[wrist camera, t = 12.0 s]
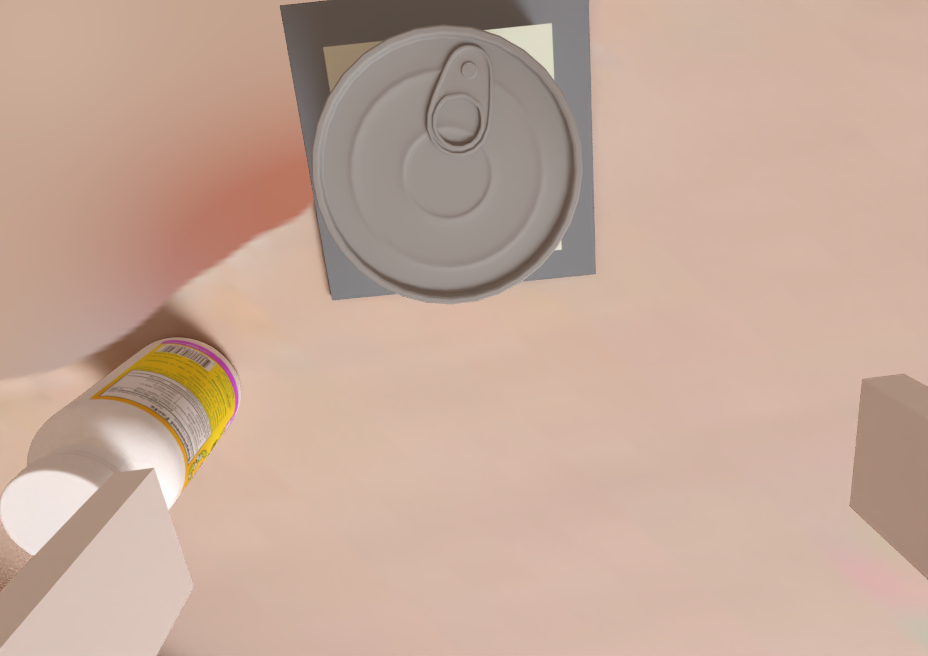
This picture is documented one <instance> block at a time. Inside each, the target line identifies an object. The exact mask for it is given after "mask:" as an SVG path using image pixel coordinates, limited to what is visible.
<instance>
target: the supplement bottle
mask: <svg viewBox="0 0 928 656" xmlns="http://www.w3.org/2000/svg"><path fill="white" fill-rule="evenodd" d="M240 400H241V387H240V382H239V379H238V376H237V374H236V372H235V370H234V368H233V367H232V365H231V364H230V363H229V361H228V360H227V359H226V358H225V357H224V356H223V355H222V354H221V353H220V352H218V351H217V350H216V349H214V348H213V347H211V346H209V345H207V344H205V343H203V342H201V341H198V340H194V339H190V338H183V337H173V338H165V339H161V340H158V341H155V342H153V343H151V344H149V345H147V346H146V347H144V348H143V349H141V350H140V351H139V352H137V353H136V354H135V355H133V356H132V357H130V358H129V359H128V360H126V361H125V362H124V363H122V364H121V365H120V366H118V367H117V368H116V369H115V370H113V371H112V372H111V373H109V374H108V375H107V376H105V377H104V378H103V379H101V380H100V381H99V382H98V383H96V384H95V385H94V386H92V387H91V388H90V389H88V390H87V391H86V392H84V393H83V394H82V395H80V396H79V397H78V398H76V399H75V400H74V401H72V402H71V403H70V404H68V405H67V406H66V407H64V408H63V409H62V410H60V411H59V412H58V413H56V414H55V415H54V416H52V417H51V418H50V419H48V420H47V421H46V422H45V423H44V424H43V425H42V427H41V428H40V429H39V430H38V432H37V433H36V435H35V437H34V439H33V440H32V443H31V446H30V449H29V452H28V458H27V467H26V468H25V469H24V470H23V471H21V472H20V473H19V474H18V475H17V476H16V477H15V478H14V479H13V480H11V481H10V482H9V484H8V485H7V486H6V487H5V489H4V491H3V493H2V495H1V498H0V518H1V521H2V524H3V526H4V528H5V530H6V532H7V533H8V534H9V536H10V537H11V538H12V539H13V541H14V542H15V543H16V544H17V545H19V546H20V547H21V548H22V549H24V550H25V551H26V552H28V553H29V554H31V555H33V556H34V555H35V554H36V553H37V552H38V551H39V550H40V549H41V548H42V547H43V546H44V545H45V544H46V543H47V542H48V541H49V540H50V539H51V538H52V537H53V535H54V534H55V533H56V532H57V531H58V530H59V529H60V528H61V527H62V526H63V525H64V524H65V523H66V522H67V521H68V520H69V519H70V518H71V517H72V516H73V515H74V514H75V512H76V511H77V510H78V509H79V508H80V507H81V506H82V505H83V504H84V503H85V502H86V501H87V500H88V499H89V498H90V497H91V496H92V495H93V494H94V493H95V492H96V491H97V490H98V488H99V487H100V486H101V485H102V484H103V483H104V482H105V481H106V480H107V479H108V478H109V477H110V476H111V475H112V474H113V473H116V472H124V471H132V470H140V469H148V468H155V471H156V474H157V477H158V481H159V484H160V487H161V490H162V493H163V496H164V499H165V502H166V505H167V508H168V510H169V509H170V508H171V507H172V505H173V504H174V503H175V501H176V500H177V499H178V497H179V496H180V494H181V493H182V491H183V490H184V488H185V487H186V486H187V484H188V483H189V481H190V480H191V479H192V477H193V476H194V474H195V473H196V472H197V470H198V469H199V467H200V466H201V464H202V463H203V462H204V460H205V459H206V457H207V456H208V455H209V453H210V452H211V450H212V449H213V448H214V446H215V445H216V443H217V442H218V441H219V439H220V438H221V436H222V435H223V434H224V432H225V431H226V429H227V428H228V427H229V425H230V424H231V422H232V420H233V419H234V417H235V415H236V413H237V411H238V409H239V405H240Z"/></svg>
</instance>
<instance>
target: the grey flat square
mask: <svg viewBox="0 0 928 656" xmlns="http://www.w3.org/2000/svg"><path fill="white" fill-rule="evenodd" d="M280 10H281V15H282V21H283V26H284V32H285V37H286V43H287V49H288V55H289V60H290V66H291V71H292V77H293V82H294V88H295V93H296V99H297V105H298V111H299V116H300V122H301V128H302V133H303V139H304V144H305V150H306V156H307V161H308V167H309V172H310V178H311V184H312V190H313V195H314V201H315V207H316V212H317V218H318V223H319V229H320V235H321V240H322V246H323V252H324V257H325V263H326V268H327V274H328V280H329V285H330V291H331V297H332V300H340V299H350V298H360V297H370V296H380V295H390V294H396V293H394V292H392V291H390V290H388V289H386V288H384V287H382V286H380V285H378V284H377V283H376V282H374V281H373V280H371V279H370V278H369V277H367V276H366V275H365V274H363V273H362V272H360V271H359V270H358V269H357V268H356V267H355V266H354V265H353V264H352V262H351V261H350V260H349V259H348V258H347V257H346V256H345V255H344V254H343V253H342V252H341V250H340V249H339V247H338V246H337V244H336V243H335V241H334V239H333V238H332V236H331V235H330V233H329V232H328V230H327V228H326V225H325V223H324V220H323V218H322V216H321V213H320V211H319V208H318V206H317V202H316V197H315V192H314V187H313V182H312V146H313V141H314V135H315V130H316V125H317V121H318V119H319V116H320V114H321V111H322V109H323V106H324V104H325V101H326V99H327V97H328V95H329V94H330V87H329V81H328V75H327V69H326V62H325V56H324V50H323V47H329V46H339V45H348V44H358V43H367V42H377V41H383V40H385V39H387V38H388V37H391V36H394V35H397V34H400V33H402V32H405V31H408V30H411V29H413V28H419V27H426V26H434V25H441V24H446V25H457V26H468V27H474V28H477V29H480V30H491V29H501V28H510V27H520V26H529V25H539V24H548V23H552V38H553V61H554V81H555V82H556V84H557V85H558V86H559V88H560V89H561V90H562V92H563V94H564V96H565V98H566V100H567V102H568V104H569V107H570V109H571V111H572V113H573V115H574V117H575V121H576V125H577V129H578V133H579V137H580V141H581V150H582V169H583V173H582V180H581V187H580V194H579V200H578V203H577V206H576V209H575V212H574V215H573V218H572V220H571V223H570V225H569V227H568V229H567V231H566V232H565V234H564V236H563V238H562V240H561V244H562V250H554V251H553V252H552V254H551V255H550V256H549V257H548V258H547V260H546V261H545V262H544V263H543V264H542V266H541V267H539V268H538V269H537V270H536V271H534V272H533V273H532V274H531V275H529V276H528V277H527V278H526V279H525V280H523V281H531V280H541V279H551V278H561V277H571V276H581V275H591V274H596V267H595V228H594V189H593V150H592V111H591V72H590V33H589V0H327V1H318V2H309V3H300V4H291V5H281V6H280Z"/></svg>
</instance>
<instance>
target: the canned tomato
mask: <svg viewBox="0 0 928 656" xmlns="http://www.w3.org/2000/svg"><path fill="white" fill-rule="evenodd" d="M582 173H583V169H582V150H581V141H580V137H579V133H578V129H577V125H576V121H575V117H574V115H573V113H572V111H571V109H570V107H569V104H568V102H567V100H566V98H565V96H564V94H563V92H562V90H561V89H560V88H559V86H558V85H557V84H556V82H555V81H554V79H553V78H552V77H551V75H550V74H549V73H548V71H547V70H546V69H545V68H544V67H543V66H542V65H541V64H540V63H539V62H537V61H536V60H535V59H534V58H533V57H532V56H531V55H530V54H528V53H527V52H526V51H525V50H524V49H522V48H520V47H519V46H517V45H515V44H513V43H512V42H510V41H508V40H506V39H505V38H503V37H501V36H499V35H496V34H493V33H490V32H487V31H483V30H480V29H477V28H474V27H468V26H457V25H446V24H441V25H434V26H426V27H419V28H413V29H411V30H408V31H405V32H402V33H400V34H397V35H394V36H391V37H388V38H387V39H385V40H383V41H382V42H380V43H379V44H377V45H376V46H374V47H372V48H371V49H369V50H368V51H366V52H364V53H363V54H362V55H361V56H360V57H359V58H358V59H357V60H356V61H355V62H354V63H353V64H352V65H351V66H350V67H349V68H348V69H347V70H346V71H345V72H344V73H343V74H342V76H341V77H340V79H339V80H338V82H337V83H336V85H335V86H334V88H333V89H332V91H331V92H330V94H329V95H328V97H327V99H326V101H325V104H324V106H323V109H322V111H321V114H320V116H319V119H318V121H317V125H316V130H315V135H314V141H313V146H312V182H313V187H314V192H315V197H316V202H317V206H318V208H319V211H320V213H321V216H322V218H323V220H324V223H325V225H326V228H327V230H328V232H329V233H330V235H331V236H332V238H333V239H334V241H335V243H336V244H337V246H338V247H339V249H340V250H341V252H342V253H343V254H344V255H345V256H346V257H347V258H348V259H349V260H350V261H351V262H352V264H353V265H354V266H355V267H356V268H357V269H358V270H359V271H360V272H362V273H363V274H365V275H366V276H367V277H369V278H370V279H371V280H373V281H374V282H376V283H377V284H378V285H380V286H382V287H384V288H386V289H388V290H390V291H392V292H394V293H396V294H399V295H401V296H403V297H407V298H411V299H414V300H418V301H422V302H426V303H439V304H459V303H467V302H475V301H479V300H482V299H485V298H488V297H491V296H494V295H498V294H500V293H502V292H504V291H506V290H508V289H509V288H511V287H513V286H515V285H517V284H519V283H521V282H522V281H523V280H525V279H526V278H527V277H528V276H529V275H531V274H532V273H533V272H534V271H536V270H537V269H538V268H539V267H541V266H542V264H543V263H544V262H545V261H546V260H547V258H548V257H549V256H550V255H551V254H552V252H553V251H554V250H555V249H556V248H557V247H558V245H559V243H560V241H561V240H562V238H563V236H564V234H565V232H566V231H567V229H568V227H569V225H570V223H571V220H572V218H573V215H574V212H575V209H576V206H577V203H578V200H579V194H580V187H581V180H582Z"/></svg>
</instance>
